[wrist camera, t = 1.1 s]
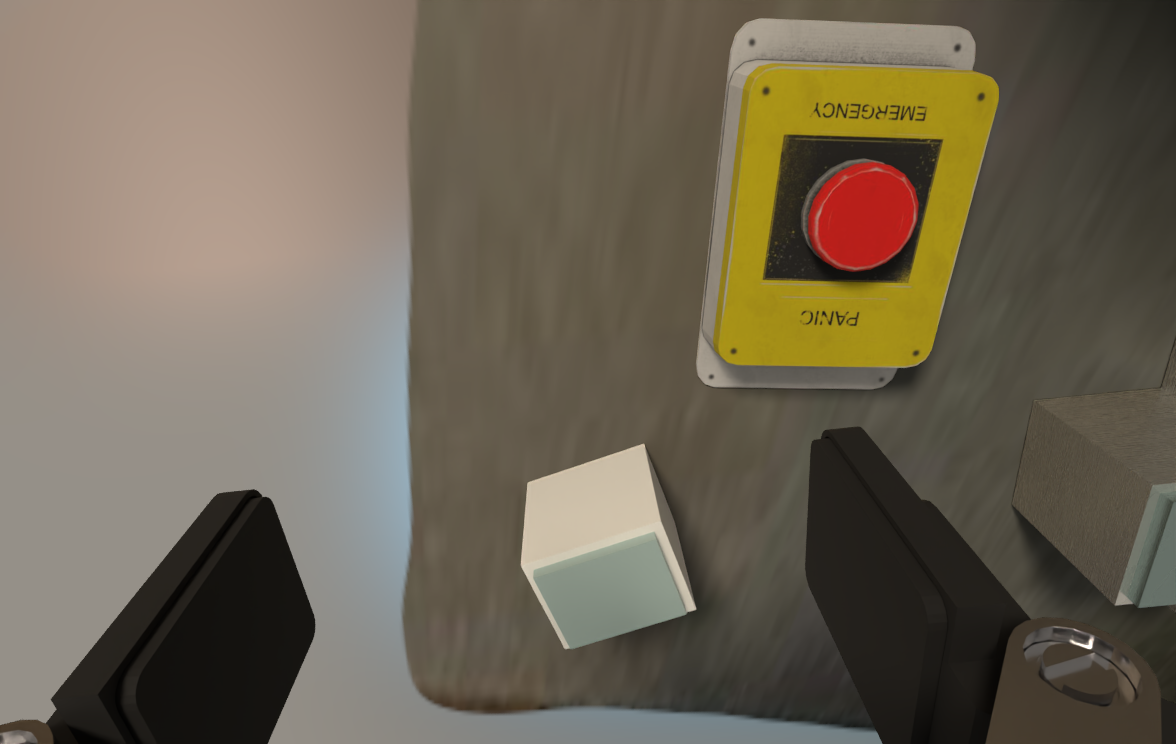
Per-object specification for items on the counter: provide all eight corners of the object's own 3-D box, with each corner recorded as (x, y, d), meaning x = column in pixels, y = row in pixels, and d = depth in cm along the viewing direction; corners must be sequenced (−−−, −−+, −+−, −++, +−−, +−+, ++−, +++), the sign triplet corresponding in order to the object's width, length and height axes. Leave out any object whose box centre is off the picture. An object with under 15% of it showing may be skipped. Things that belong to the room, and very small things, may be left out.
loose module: (527, 482, 33) (519, 574, 27) (644, 443, 32) (662, 528, 26) (564, 557, 35) (565, 658, 29) (674, 522, 34) (698, 618, 28)
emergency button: (1050, 20, 21) (933, 430, 28) (973, 27, 25) (886, 384, 32) (762, 9, 21) (710, 427, 27) (730, 17, 25) (691, 381, 31)
